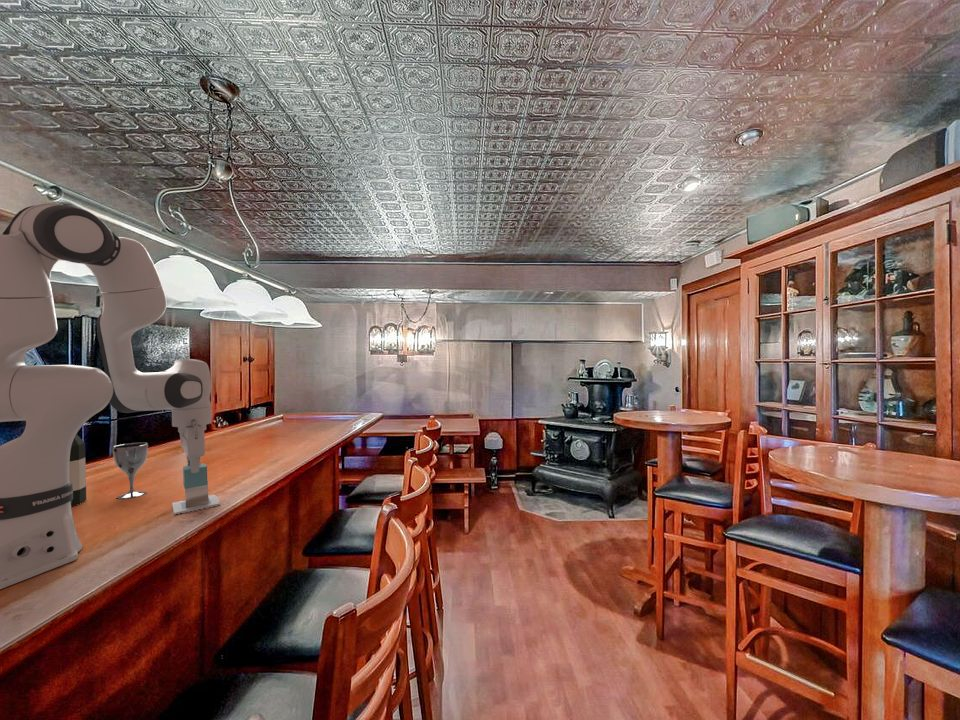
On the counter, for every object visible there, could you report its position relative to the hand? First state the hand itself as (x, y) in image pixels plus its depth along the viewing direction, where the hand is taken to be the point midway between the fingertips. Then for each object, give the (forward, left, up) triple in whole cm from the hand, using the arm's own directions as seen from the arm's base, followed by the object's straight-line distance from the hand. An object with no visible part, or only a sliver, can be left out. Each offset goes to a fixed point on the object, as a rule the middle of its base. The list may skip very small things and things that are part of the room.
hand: (193, 469), depth 109 cm
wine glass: (+8, +27, -10) cm, 30 cm away
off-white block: (+1, -1, -9) cm, 9 cm away
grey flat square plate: (0, 0, -10) cm, 10 cm away
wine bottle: (0, +39, -10) cm, 40 cm away
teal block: (0, 0, -4) cm, 4 cm away
